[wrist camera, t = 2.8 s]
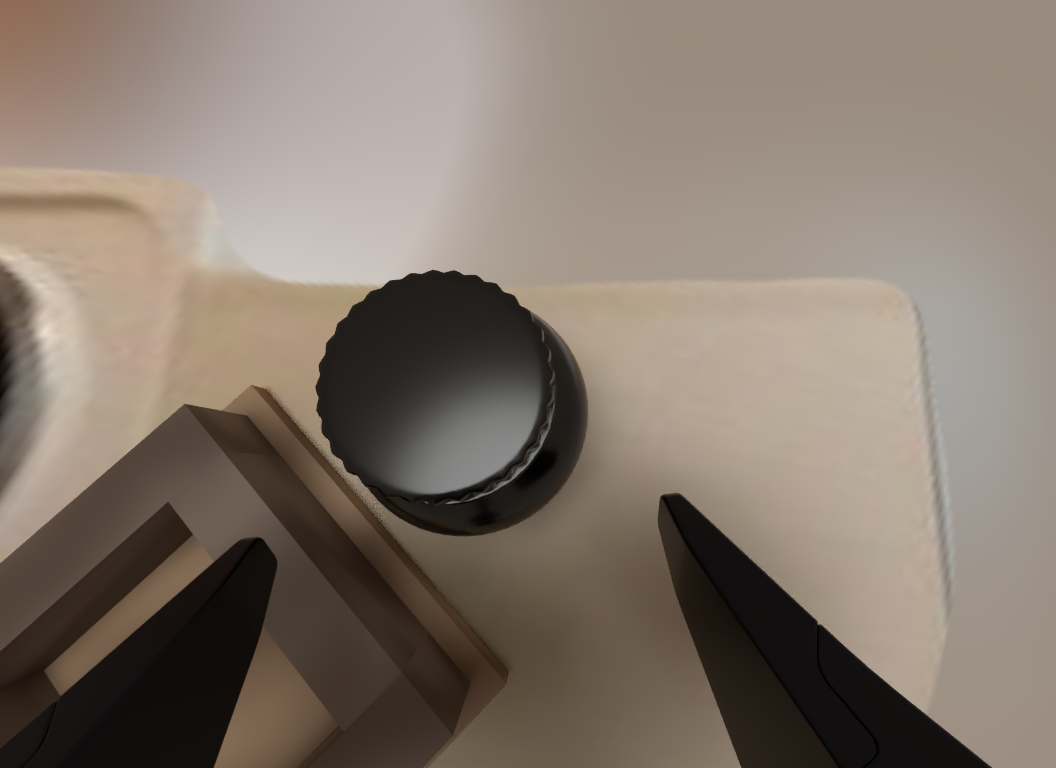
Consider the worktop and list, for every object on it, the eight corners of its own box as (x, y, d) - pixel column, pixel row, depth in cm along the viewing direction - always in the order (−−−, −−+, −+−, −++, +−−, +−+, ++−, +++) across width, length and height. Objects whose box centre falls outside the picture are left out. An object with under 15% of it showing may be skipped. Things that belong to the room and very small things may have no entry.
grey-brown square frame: (508, 672, 18) (497, 737, 14) (181, 1019, 16) (47, 1224, 12) (265, 388, 21) (190, 367, 17) (-39, 657, 19) (-215, 713, 15)
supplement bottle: (602, 434, 20) (687, 383, 8) (496, 544, 19) (423, 662, 7) (498, 335, 21) (442, 164, 9) (394, 435, 20) (190, 387, 9)
